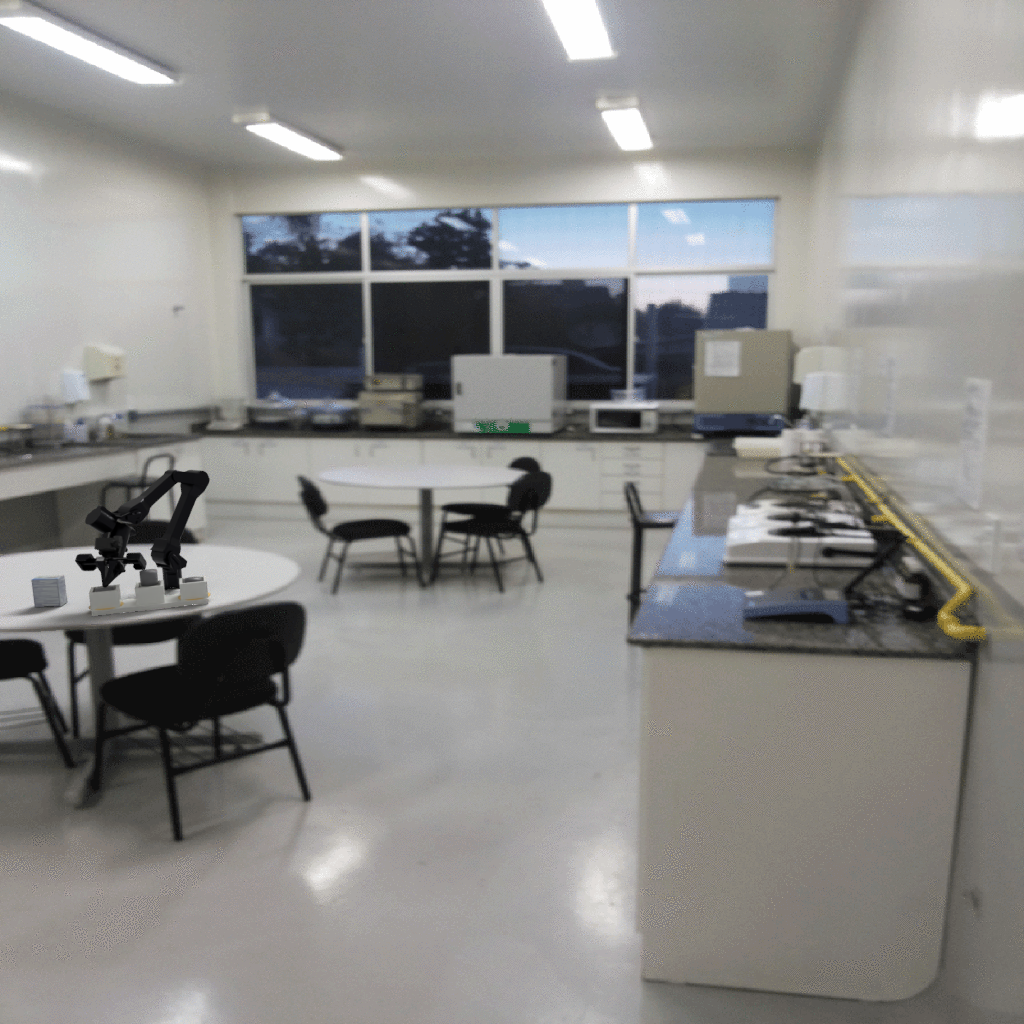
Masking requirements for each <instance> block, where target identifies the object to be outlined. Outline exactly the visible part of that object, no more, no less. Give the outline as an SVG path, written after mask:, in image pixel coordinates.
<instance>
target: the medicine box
mask: <svg viewBox="0 0 1024 1024" xmlns="http://www.w3.org/2000/svg"><path fill="white" fill-rule="evenodd" d="M65 577H66V576H65V575H64V574H61V575H60V574H55V575H54V574H52V575H37V576H36V577H33V578H32V579H30V581H31V588H32V589H31V590H32V597H33V604H34V605H33V606H34V608H45V607H44V606H54V607H62V605H63V606H64V605H65V603H66V604H67V603H68V602H69V601H68V593H67V585H66V578H65Z"/></svg>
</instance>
